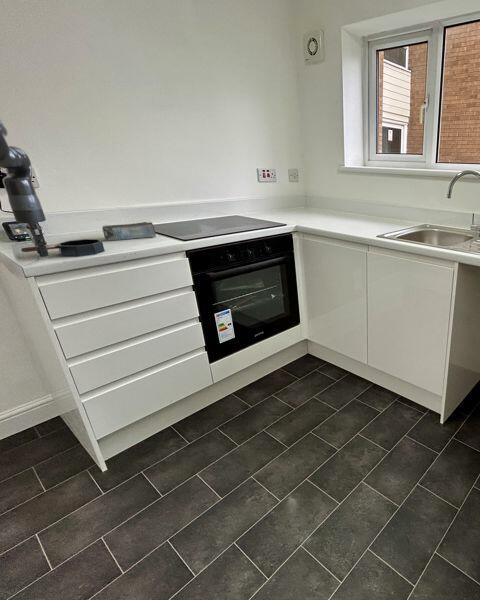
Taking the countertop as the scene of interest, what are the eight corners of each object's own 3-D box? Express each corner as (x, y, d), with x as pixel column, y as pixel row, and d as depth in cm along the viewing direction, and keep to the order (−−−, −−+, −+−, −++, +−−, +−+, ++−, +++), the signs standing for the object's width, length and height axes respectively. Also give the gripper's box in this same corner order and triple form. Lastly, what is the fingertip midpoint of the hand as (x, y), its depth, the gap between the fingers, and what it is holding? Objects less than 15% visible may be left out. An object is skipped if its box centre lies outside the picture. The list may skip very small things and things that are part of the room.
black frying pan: (27, 263, 121) (22, 251, 120) (22, 256, 129) (18, 245, 127) (107, 252, 137) (104, 242, 136) (99, 247, 145) (96, 237, 143)
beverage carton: (105, 238, 161) (101, 223, 159) (155, 234, 172) (152, 221, 170) (105, 241, 155) (101, 226, 153) (157, 237, 166) (153, 223, 164)
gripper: (9, 206, 124) (26, 253, 130) (13, 210, 115) (31, 260, 121) (38, 205, 129) (53, 250, 135) (44, 209, 121) (60, 256, 127)
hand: (43, 254), depth 128 cm, fingers open, 6 cm apart
